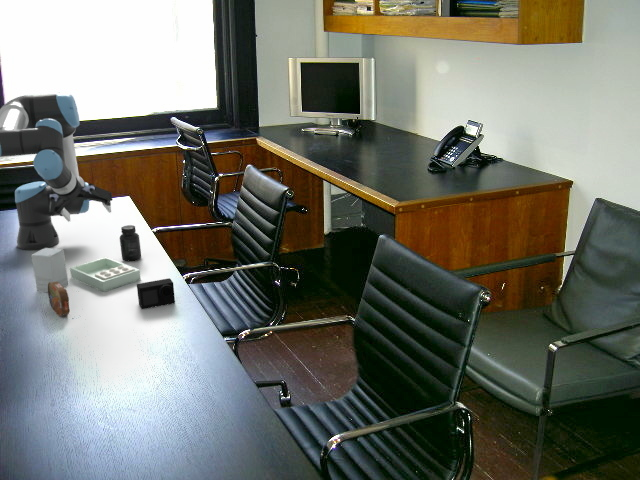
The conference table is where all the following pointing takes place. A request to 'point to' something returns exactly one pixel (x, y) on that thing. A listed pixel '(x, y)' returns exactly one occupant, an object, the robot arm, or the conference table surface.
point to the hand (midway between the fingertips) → (89, 213)
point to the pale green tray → (88, 271)
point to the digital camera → (155, 293)
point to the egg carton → (113, 272)
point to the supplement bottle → (130, 244)
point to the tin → (58, 298)
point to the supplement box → (49, 268)
